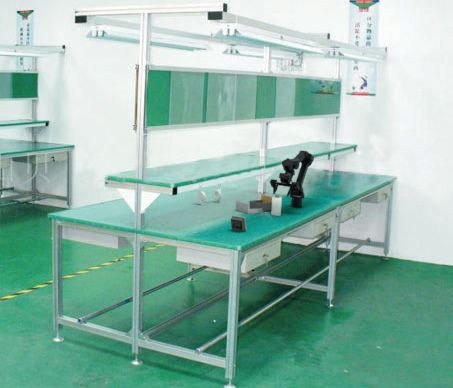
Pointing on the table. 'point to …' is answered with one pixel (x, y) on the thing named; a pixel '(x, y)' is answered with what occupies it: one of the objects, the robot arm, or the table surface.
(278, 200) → the bottle
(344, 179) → the table surface
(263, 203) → the grey and tan box
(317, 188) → the table surface
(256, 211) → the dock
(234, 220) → the electrical switch
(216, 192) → the headset
